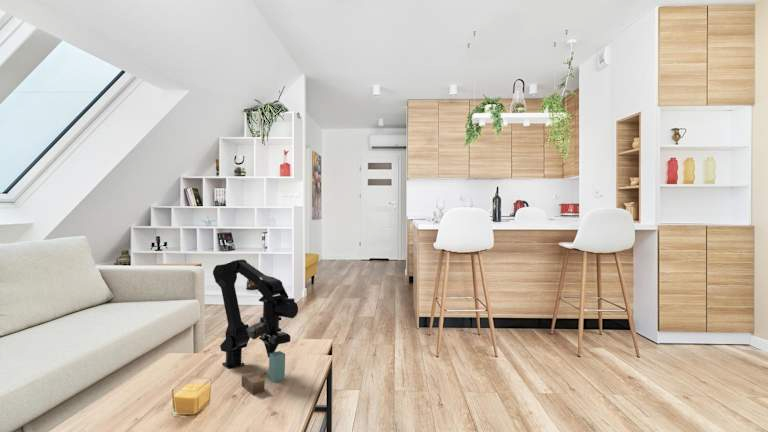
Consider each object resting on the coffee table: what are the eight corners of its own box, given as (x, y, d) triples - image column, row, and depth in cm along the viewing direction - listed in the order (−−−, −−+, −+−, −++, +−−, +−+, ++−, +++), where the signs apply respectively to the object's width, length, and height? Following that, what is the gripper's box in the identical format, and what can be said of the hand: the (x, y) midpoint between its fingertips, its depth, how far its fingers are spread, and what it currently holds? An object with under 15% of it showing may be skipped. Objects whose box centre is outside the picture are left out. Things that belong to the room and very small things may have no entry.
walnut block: (241, 374, 136) (252, 383, 130) (253, 371, 139) (264, 380, 132) (241, 386, 136) (252, 395, 130) (252, 383, 139) (264, 392, 132)
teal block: (268, 378, 143) (269, 353, 143) (279, 376, 146) (279, 350, 146) (274, 382, 140) (274, 356, 140) (284, 379, 143) (285, 353, 143)
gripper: (238, 313, 149) (237, 355, 148) (262, 323, 135) (261, 370, 135) (267, 309, 156) (265, 349, 156) (291, 318, 143) (290, 362, 142)
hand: (270, 357), depth 147 cm, fingers closed
